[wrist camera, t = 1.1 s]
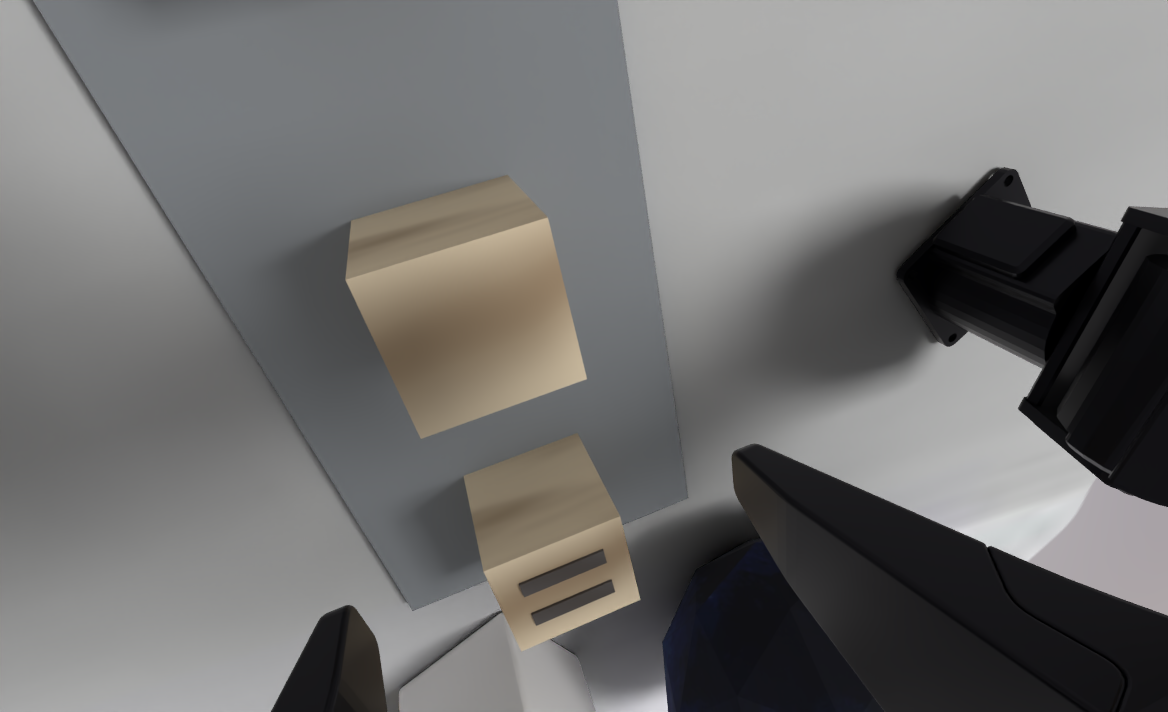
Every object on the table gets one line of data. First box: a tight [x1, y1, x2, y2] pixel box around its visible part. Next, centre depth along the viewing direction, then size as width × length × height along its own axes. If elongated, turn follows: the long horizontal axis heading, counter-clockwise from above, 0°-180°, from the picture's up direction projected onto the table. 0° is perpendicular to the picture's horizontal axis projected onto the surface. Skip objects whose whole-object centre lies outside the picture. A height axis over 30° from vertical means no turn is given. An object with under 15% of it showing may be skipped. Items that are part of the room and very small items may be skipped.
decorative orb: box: [662, 539, 884, 712], centre depth 28 cm, size 14×15×15 cm
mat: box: [33, 0, 688, 611], centre depth 19 cm, size 30×14×1 cm, turn 12°
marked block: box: [464, 433, 640, 652], centre depth 23 cm, size 5×5×5 cm
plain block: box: [345, 175, 587, 439], centre depth 17 cm, size 5×5×5 cm
